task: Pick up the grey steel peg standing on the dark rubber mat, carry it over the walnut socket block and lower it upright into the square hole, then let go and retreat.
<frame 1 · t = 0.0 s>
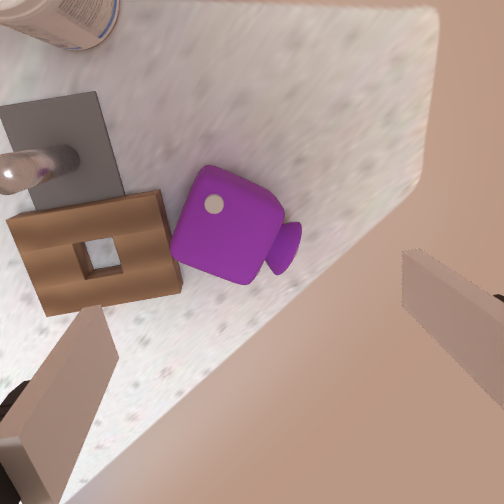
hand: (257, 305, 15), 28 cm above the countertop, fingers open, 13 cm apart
socket block: (106, 249, 43), on the countertop
toy camera: (238, 215, 43), on the countertop
mat: (67, 158, 39), on the countertop
peg: (65, 158, 38), resting on mat
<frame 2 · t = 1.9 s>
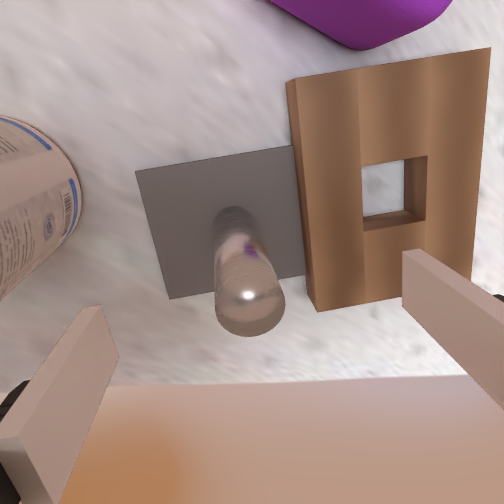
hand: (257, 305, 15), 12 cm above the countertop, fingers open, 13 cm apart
socket block: (375, 186, 27), on the countertop
supplement tub: (14, 189, 24), on the countertop
mat: (233, 224, 27), on the countertop
peg: (234, 225, 26), resting on mat
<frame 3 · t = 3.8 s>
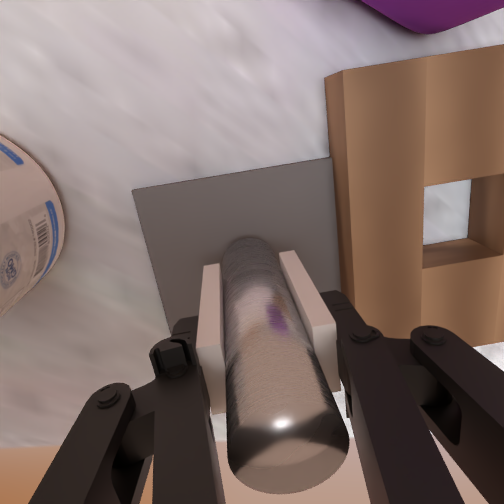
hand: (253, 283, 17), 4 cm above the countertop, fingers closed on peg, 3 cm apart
socket block: (433, 208, 21), on the countertop
mat: (254, 255, 21), on the countertop
peg: (249, 263, 20), point 2 cm above the countertop, touching gripper
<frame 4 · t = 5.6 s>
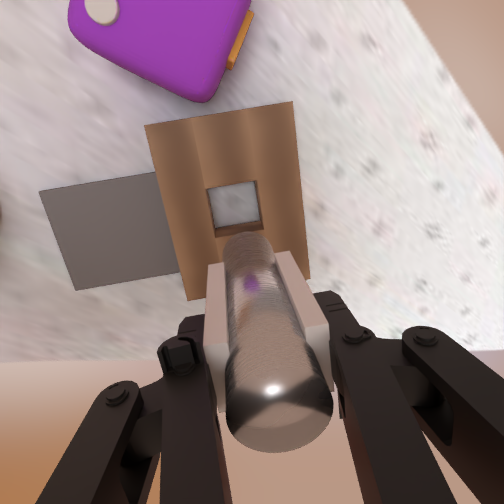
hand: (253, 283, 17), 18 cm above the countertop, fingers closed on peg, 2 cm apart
socket block: (233, 202, 34), on the countertop
toy camera: (183, 5, 28), on the countertop
mat: (122, 231, 34), on the countertop
peg: (247, 255, 21), point 14 cm above the countertop, touching gripper
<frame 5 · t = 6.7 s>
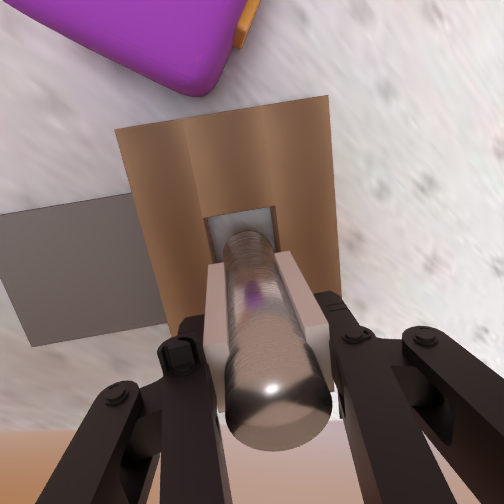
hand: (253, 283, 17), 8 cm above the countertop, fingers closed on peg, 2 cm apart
socket block: (241, 231, 25), on the countertop
mat: (92, 271, 25), on the countertop
peg: (247, 255, 21), point 5 cm above the countertop, touching gripper
when the fingers open (4 cm above the countertop, at t = 7.8 s): peg stays where it is, resting in socket block.
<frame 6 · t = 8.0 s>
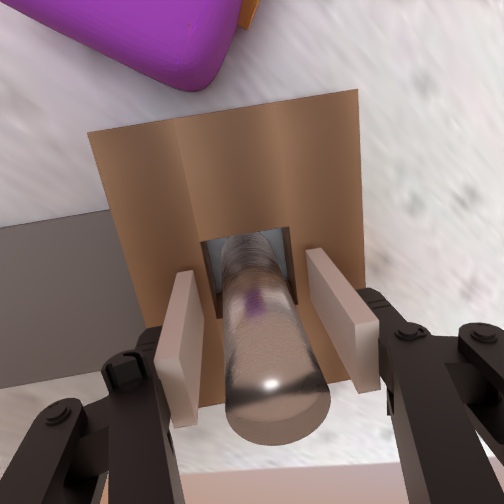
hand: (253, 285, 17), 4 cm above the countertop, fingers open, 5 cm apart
socket block: (247, 254, 21), on the countertop
mat: (68, 300, 21), on the countertop
peg: (246, 254, 21), resting in socket block
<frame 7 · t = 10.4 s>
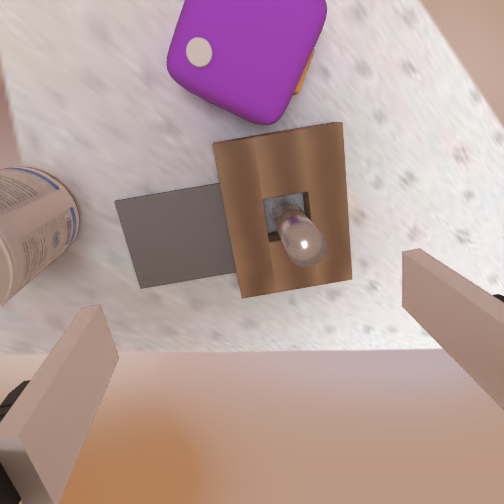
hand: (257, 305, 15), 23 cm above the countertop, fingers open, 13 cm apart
socket block: (283, 210, 38), on the countertop
toy camera: (246, 39, 32), on the countertop
supplement tub: (35, 213, 36), on the countertop
mat: (184, 236, 38), on the countertop
peg: (283, 210, 38), resting in socket block
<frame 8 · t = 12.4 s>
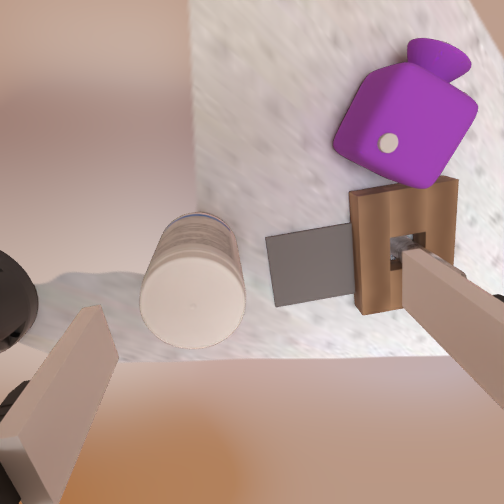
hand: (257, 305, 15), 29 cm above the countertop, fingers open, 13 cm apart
socket block: (396, 243, 47), on the countertop
toy camera: (384, 113, 41), on the countertop
supplement tub: (199, 247, 45), on the countertop
mat: (315, 265, 47), on the countertop
peg: (396, 243, 47), resting in socket block
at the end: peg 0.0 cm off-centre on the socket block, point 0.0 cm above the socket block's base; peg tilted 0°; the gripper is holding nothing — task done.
